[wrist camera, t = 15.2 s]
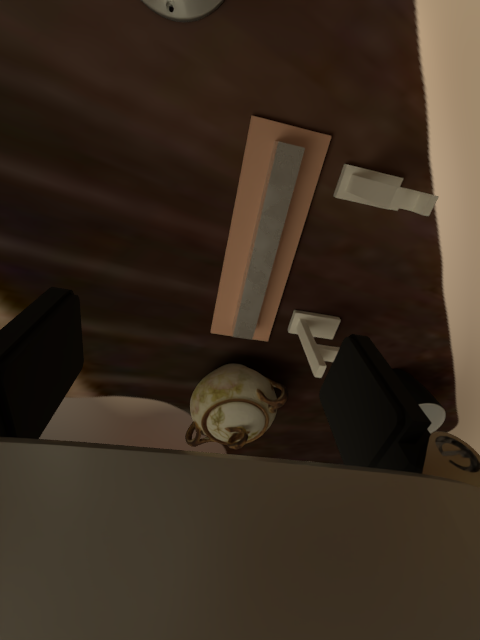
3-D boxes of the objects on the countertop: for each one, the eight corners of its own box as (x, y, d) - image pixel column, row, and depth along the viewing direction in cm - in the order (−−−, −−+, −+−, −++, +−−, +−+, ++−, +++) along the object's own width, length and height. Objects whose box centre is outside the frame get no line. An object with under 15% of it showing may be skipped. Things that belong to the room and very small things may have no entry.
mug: (359, 380, 59) (382, 422, 50) (400, 355, 56) (432, 395, 47) (387, 410, 64) (413, 453, 55) (427, 388, 61) (461, 430, 52)
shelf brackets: (344, 163, 39) (393, 173, 28) (399, 177, 40) (467, 191, 29) (287, 329, 52) (305, 381, 40) (330, 336, 53) (359, 388, 42)
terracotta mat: (251, 115, 36) (251, 115, 35) (329, 136, 37) (331, 136, 36) (210, 330, 51) (210, 333, 50) (267, 338, 52) (267, 341, 52)
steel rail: (274, 141, 36) (278, 141, 34) (299, 147, 37) (305, 147, 34) (232, 325, 50) (232, 336, 47) (250, 328, 50) (252, 339, 47)
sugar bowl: (259, 329, 51) (271, 392, 39) (296, 383, 58) (316, 452, 45) (167, 376, 56) (150, 447, 43) (211, 421, 63) (208, 494, 50)
